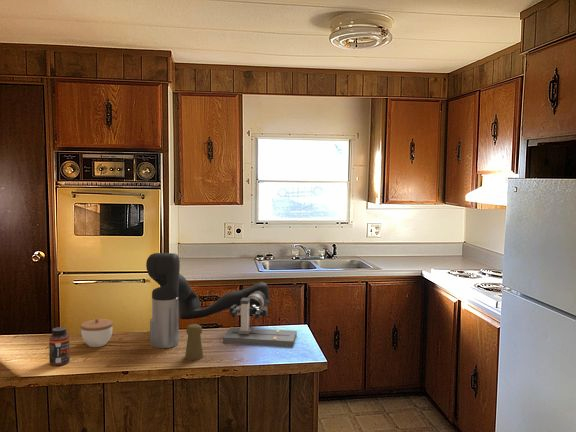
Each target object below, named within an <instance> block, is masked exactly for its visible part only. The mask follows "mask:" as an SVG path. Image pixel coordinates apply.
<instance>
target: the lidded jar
mask: <svg viewBox="0 0 576 432" xmlns="http://www.w3.org/2000/svg"><path fill="white" fill-rule="evenodd" d="M113 323H114V322H113V320H110V319H108V318H95V319H89V320H86V321H83V322H82V323H81V324H80V333H81V337H82V340H83V342H84V343H85V344H86V345H87V346H88V347H90V348H99V347H104V346H106V344H107V343H108V342H109V341H110V340H111V338H112V335H113V325H114V324H113Z"/></svg>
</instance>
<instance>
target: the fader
mask: <svg viewBox="0 0 576 432" xmlns="http://www.w3.org/2000/svg"><path fill="white" fill-rule="evenodd" d="M240 304H241V315H240V327H239V328H240V329H239V331H238V334H250V332H251V330H252V328H253V327H252V326H250V316H249V304H250V298H242V299H241V301H240Z"/></svg>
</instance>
